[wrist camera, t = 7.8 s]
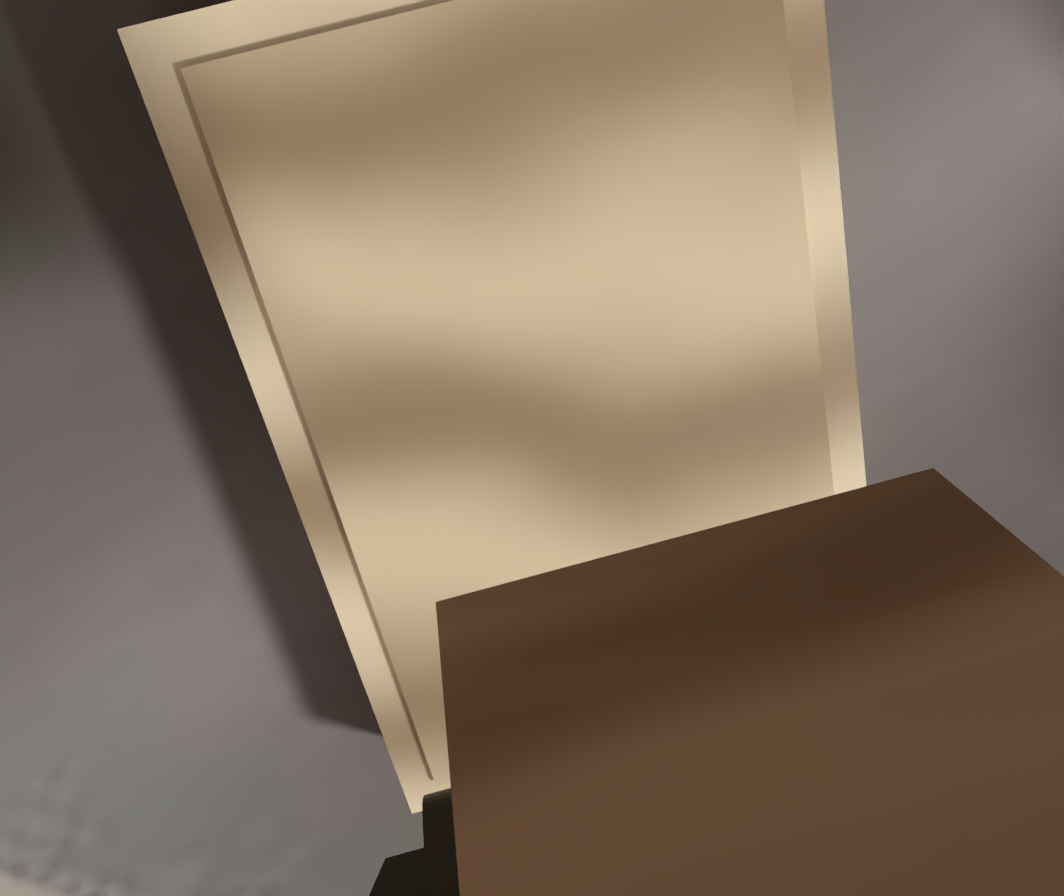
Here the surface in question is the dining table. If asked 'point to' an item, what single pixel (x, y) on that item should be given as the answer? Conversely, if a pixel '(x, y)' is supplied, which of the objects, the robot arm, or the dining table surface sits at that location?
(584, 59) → the plinth
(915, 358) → the dining table surface
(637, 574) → the cube
